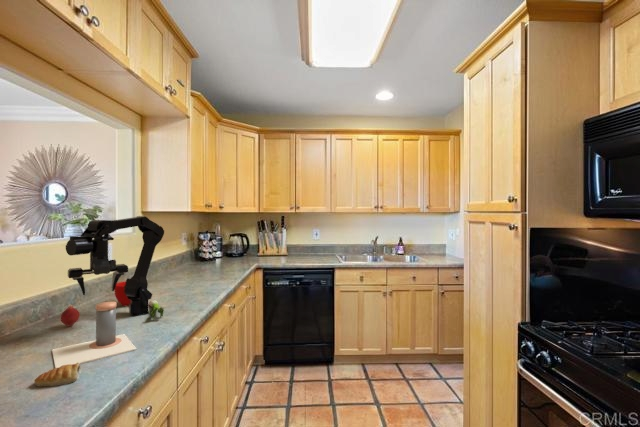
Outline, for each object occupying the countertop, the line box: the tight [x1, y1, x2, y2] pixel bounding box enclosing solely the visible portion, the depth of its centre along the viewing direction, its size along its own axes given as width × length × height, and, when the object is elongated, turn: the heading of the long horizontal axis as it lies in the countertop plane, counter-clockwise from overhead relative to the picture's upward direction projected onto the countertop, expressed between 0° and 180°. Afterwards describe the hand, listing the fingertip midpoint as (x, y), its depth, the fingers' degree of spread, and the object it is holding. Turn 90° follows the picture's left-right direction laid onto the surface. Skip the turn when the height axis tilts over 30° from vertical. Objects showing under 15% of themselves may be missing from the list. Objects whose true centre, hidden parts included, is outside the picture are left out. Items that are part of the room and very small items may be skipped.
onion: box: [60, 304, 81, 327], centre depth 124 cm, size 6×6×8 cm
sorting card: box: [51, 333, 137, 369], centre depth 102 cm, size 20×17×1 cm
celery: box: [148, 299, 165, 320], centre depth 142 cm, size 6×7×30 cm
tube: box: [95, 301, 117, 346], centre depth 107 cm, size 6×6×13 cm
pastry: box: [33, 363, 83, 387], centre depth 84 cm, size 9×7×4 cm
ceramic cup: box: [114, 280, 131, 307], centre depth 155 cm, size 13×17×10 cm
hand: (98, 293), depth 123 cm, fingers open, 9 cm apart
